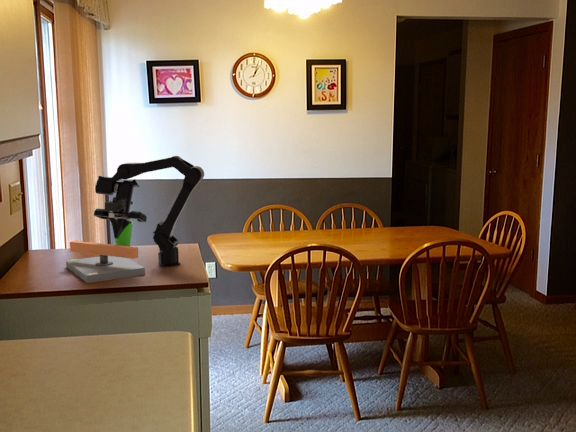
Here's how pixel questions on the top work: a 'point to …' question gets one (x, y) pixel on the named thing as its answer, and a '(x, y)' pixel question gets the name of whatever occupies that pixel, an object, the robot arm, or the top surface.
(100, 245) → the handle
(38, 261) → the top surface
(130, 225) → the cup
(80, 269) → the panel
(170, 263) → the robot arm
